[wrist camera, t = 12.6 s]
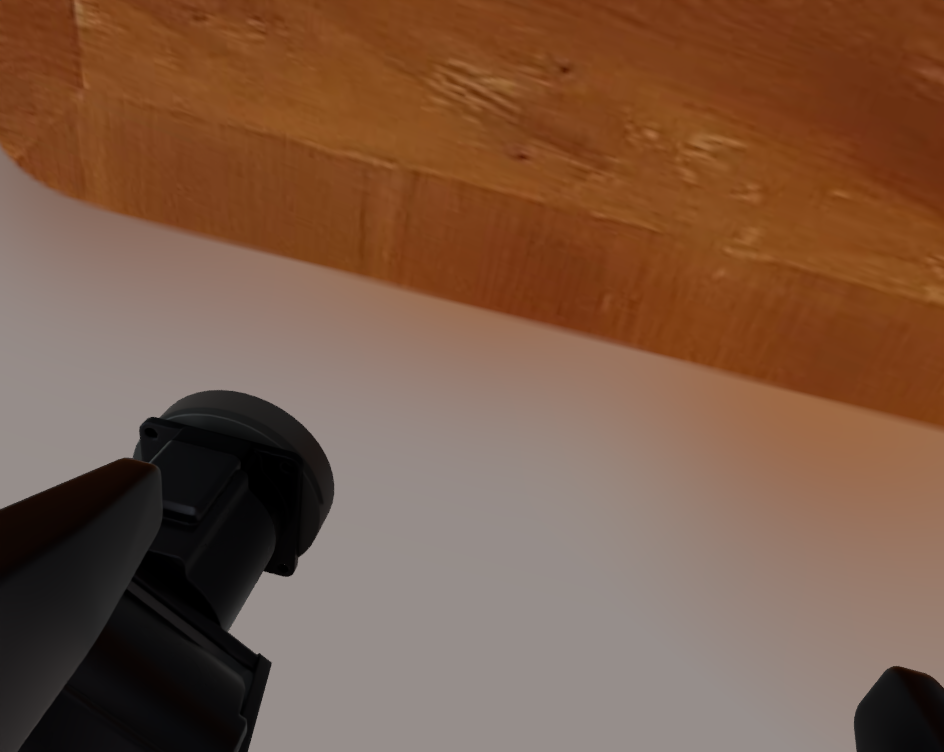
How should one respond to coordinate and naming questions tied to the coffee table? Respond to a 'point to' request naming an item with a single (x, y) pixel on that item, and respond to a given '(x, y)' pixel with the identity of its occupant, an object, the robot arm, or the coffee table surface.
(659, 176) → the coffee table surface
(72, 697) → the robot arm
